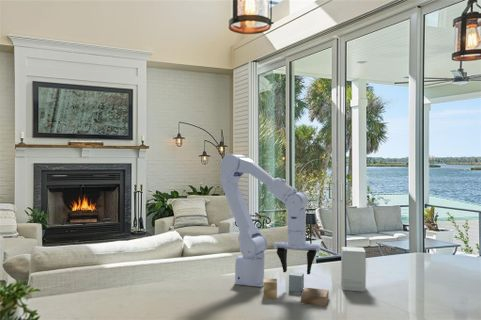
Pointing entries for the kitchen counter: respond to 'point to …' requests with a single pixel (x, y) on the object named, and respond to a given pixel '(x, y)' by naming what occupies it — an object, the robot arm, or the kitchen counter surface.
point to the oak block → (270, 288)
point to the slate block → (296, 281)
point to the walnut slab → (315, 296)
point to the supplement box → (353, 268)
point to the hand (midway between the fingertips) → (296, 272)
